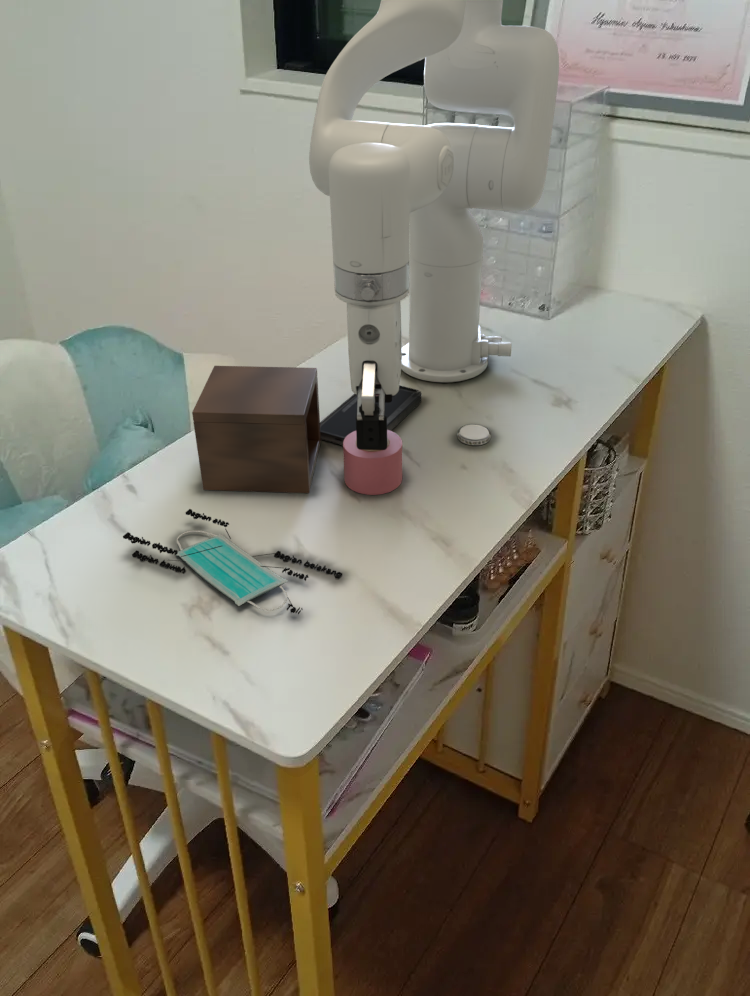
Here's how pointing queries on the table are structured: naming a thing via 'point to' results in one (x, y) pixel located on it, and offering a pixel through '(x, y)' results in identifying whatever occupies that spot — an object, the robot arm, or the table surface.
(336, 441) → the phone
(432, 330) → the robot arm
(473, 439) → the white bottle cap
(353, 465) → the tape roll
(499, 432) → the table surface
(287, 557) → the surgical mask
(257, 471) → the desk shelf
